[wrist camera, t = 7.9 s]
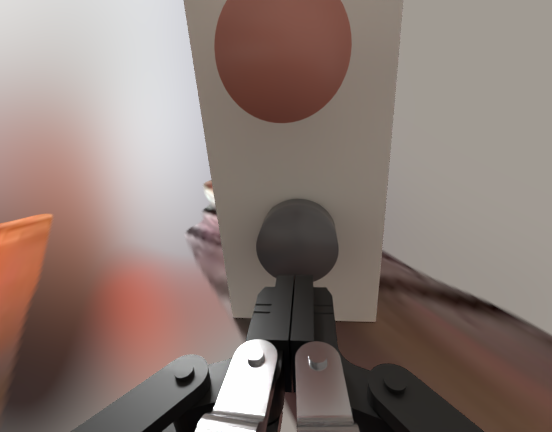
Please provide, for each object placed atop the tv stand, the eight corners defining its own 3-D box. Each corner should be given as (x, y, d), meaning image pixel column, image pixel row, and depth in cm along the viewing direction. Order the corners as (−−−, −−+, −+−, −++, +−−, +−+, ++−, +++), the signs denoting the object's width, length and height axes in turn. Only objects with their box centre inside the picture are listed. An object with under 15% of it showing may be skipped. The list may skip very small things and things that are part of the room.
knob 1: (223, 126, 11) (204, -25, 9) (260, 111, 18) (253, 27, 16) (349, 119, 10) (354, -45, 8) (333, 107, 17) (334, 18, 16)
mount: (233, 317, 21) (177, -37, 13) (251, 266, 27) (220, 3, 20) (375, 321, 20) (408, -68, 12) (360, 266, 26) (376, -15, 18)
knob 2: (259, 283, 17) (252, 212, 15) (275, 225, 24) (271, 172, 22) (338, 284, 16) (339, 211, 14) (330, 224, 24) (330, 170, 22)
